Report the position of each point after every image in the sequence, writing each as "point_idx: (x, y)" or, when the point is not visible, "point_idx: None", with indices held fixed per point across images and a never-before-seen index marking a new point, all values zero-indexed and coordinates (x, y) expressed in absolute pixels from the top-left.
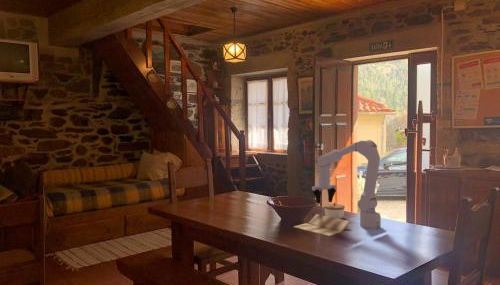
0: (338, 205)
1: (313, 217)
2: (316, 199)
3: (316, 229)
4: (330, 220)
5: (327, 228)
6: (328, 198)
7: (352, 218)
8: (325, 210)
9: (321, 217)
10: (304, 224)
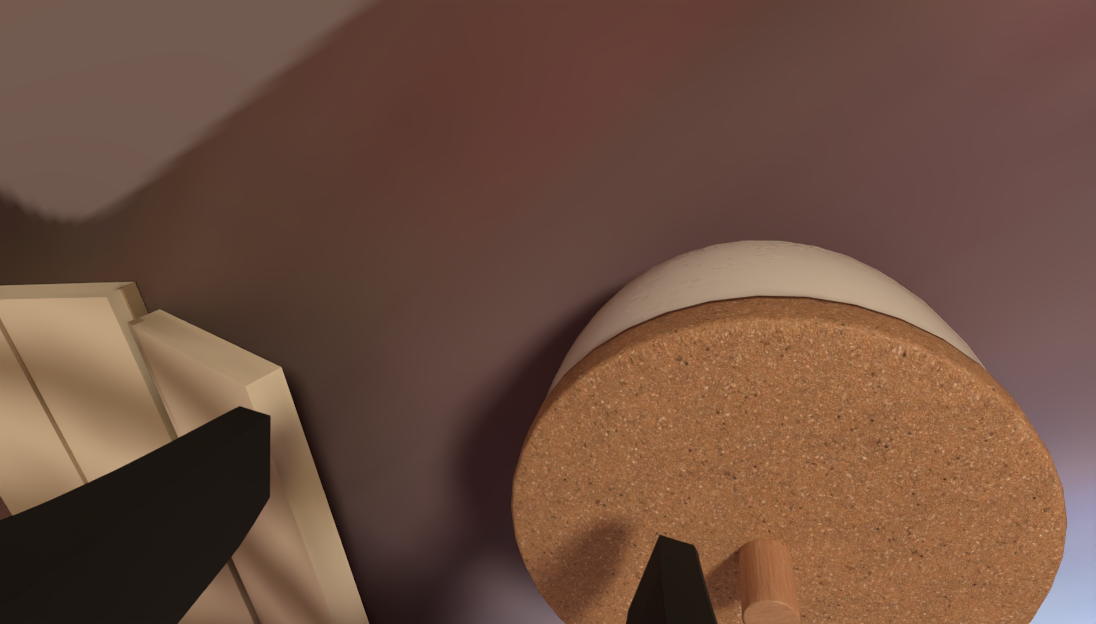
0: (848, 614)
1: (196, 361)
2: (146, 473)
3: None
4: (303, 614)
5: (231, 588)
6: (662, 614)
7: (1076, 500)
8: (555, 378)
9: None
10: (59, 326)
